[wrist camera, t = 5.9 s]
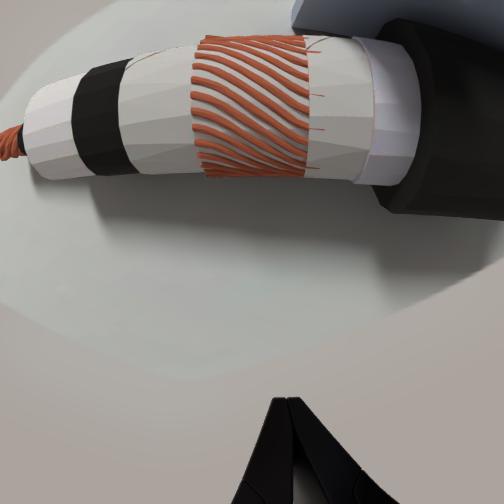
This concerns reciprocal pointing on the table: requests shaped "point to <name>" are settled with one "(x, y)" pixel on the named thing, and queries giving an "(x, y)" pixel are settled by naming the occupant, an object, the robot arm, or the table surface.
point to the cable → (290, 116)
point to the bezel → (404, 17)
